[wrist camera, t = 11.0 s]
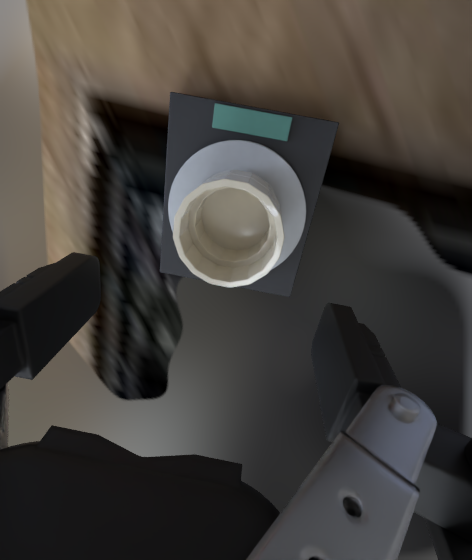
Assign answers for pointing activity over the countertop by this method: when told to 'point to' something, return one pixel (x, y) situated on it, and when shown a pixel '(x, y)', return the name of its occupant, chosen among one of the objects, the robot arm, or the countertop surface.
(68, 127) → the countertop surface
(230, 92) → the countertop surface
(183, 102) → the scale
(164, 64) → the countertop surface
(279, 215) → the white cup
